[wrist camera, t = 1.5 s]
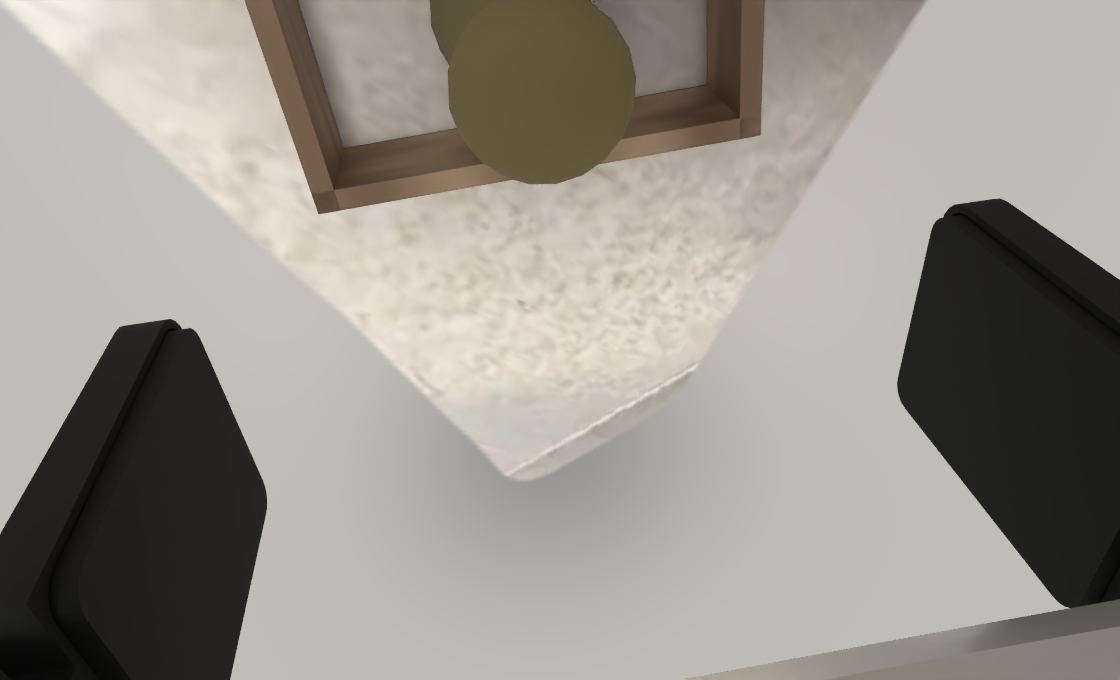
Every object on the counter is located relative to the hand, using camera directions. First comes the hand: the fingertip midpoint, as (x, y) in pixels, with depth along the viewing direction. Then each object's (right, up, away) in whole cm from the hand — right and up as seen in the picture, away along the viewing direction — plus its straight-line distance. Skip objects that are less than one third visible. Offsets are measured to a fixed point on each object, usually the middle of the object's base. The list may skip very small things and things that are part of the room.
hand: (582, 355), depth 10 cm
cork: (-2, +13, +19) cm, 23 cm away
